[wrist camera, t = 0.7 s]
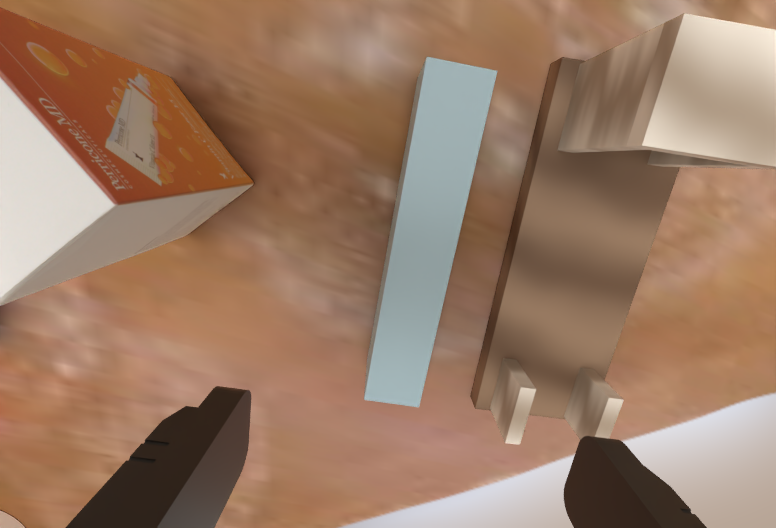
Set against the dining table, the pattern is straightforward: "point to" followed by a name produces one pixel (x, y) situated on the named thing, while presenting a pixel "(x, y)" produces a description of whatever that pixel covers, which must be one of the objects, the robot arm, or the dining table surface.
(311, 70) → the dining table surface
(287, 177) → the dining table surface
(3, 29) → the small box
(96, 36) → the dining table surface
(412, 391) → the slat
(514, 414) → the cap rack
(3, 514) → the cylindrical container
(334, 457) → the dining table surface
